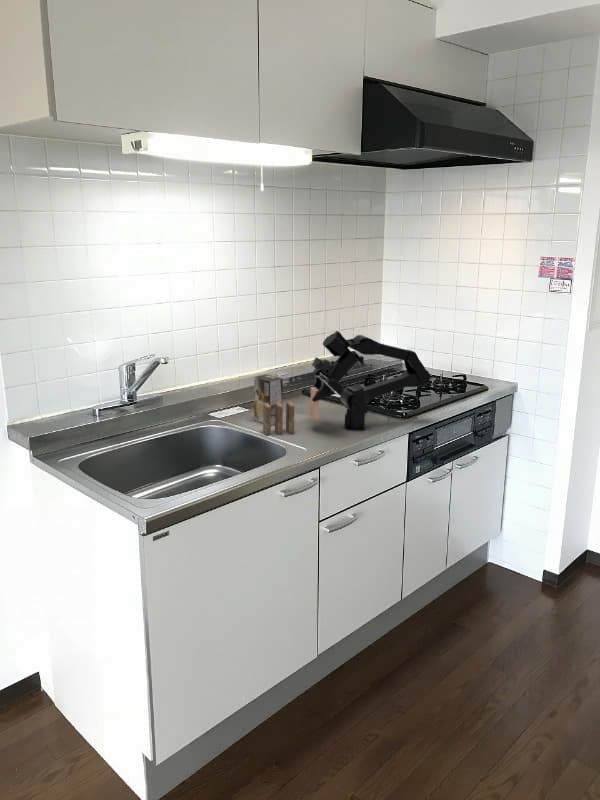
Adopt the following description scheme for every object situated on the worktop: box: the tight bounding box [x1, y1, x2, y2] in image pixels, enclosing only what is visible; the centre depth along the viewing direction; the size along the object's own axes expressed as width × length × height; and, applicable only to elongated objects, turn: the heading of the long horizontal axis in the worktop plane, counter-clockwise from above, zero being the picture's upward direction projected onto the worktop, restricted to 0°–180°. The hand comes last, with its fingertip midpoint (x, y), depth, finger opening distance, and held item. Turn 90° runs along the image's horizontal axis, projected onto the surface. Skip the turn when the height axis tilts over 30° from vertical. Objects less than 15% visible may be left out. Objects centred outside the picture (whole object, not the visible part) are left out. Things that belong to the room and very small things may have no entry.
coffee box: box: [253, 374, 284, 426], centre depth 233 cm, size 9×6×16 cm
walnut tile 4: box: [262, 403, 272, 437], centre depth 220 cm, size 2×5×10 cm, turn 14°
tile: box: [309, 386, 320, 420], centre depth 223 cm, size 2×5×10 cm, turn 14°
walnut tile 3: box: [274, 402, 284, 436], centre depth 221 cm, size 2×5×10 cm, turn 14°
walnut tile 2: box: [285, 401, 295, 435], centre depth 222 cm, size 2×5×10 cm, turn 15°
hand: (310, 398), depth 222 cm, fingers closed on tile, 5 cm apart
